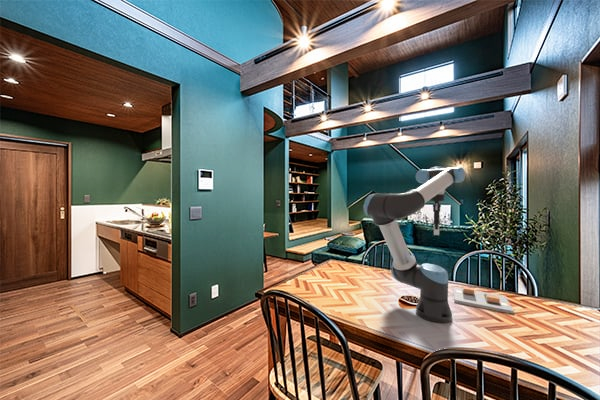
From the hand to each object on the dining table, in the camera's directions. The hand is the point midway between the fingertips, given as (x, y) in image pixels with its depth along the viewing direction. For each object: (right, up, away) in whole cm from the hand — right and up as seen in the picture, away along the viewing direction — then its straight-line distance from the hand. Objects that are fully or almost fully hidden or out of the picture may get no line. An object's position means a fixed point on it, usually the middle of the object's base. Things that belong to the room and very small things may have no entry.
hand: (436, 234), depth 139 cm
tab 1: (+17, -33, -2) cm, 37 cm away
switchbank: (+19, -35, -8) cm, 40 cm away
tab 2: (+22, -33, -13) cm, 42 cm away
